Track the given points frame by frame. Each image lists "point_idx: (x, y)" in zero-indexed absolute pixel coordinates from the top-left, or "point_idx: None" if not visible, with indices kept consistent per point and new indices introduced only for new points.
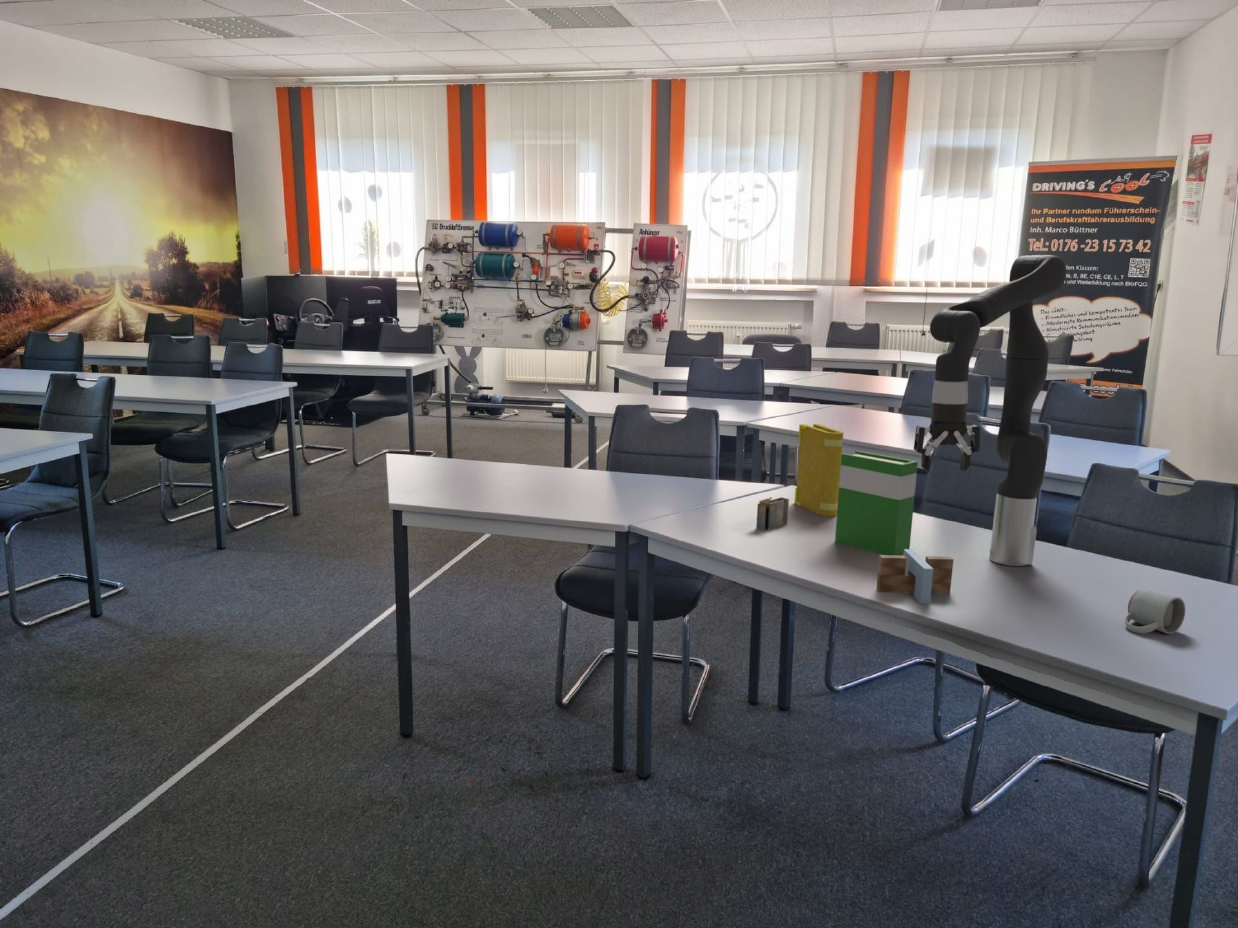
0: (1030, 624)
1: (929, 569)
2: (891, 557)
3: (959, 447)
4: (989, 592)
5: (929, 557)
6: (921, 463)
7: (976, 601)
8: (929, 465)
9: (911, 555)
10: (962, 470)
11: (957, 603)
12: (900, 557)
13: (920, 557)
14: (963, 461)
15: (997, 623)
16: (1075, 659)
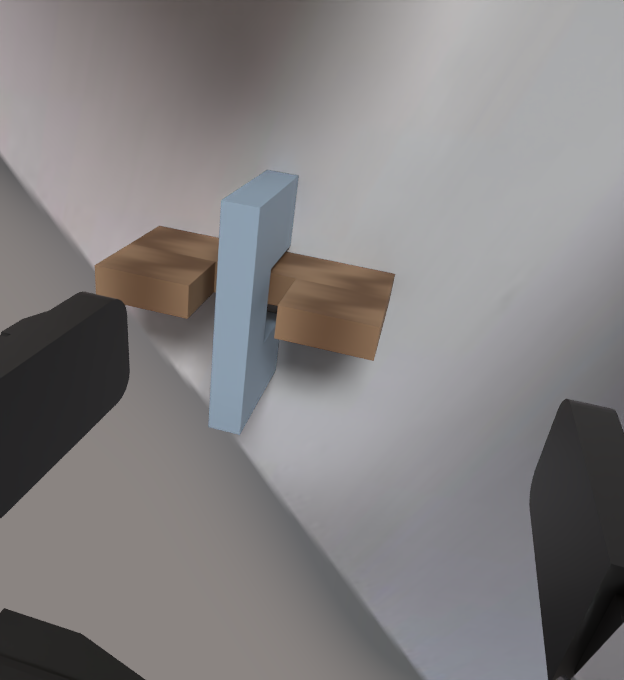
0: (475, 535)
1: (227, 430)
2: (132, 301)
3: (577, 675)
4: (543, 315)
5: (284, 323)
6: (3, 334)
7: (435, 377)
8: (79, 431)
9: (221, 288)
10: (542, 452)
11: (362, 380)
12: (167, 305)
13: (247, 317)
14: (549, 557)
15: (389, 511)
16: (433, 670)
